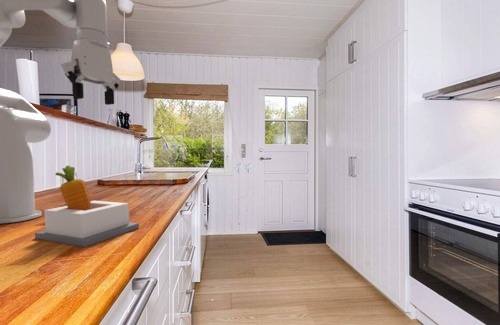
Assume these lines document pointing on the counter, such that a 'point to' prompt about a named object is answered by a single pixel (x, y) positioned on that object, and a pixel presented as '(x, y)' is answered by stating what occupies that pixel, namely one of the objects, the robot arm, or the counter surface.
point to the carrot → (74, 191)
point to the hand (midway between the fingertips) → (94, 101)
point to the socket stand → (86, 223)
